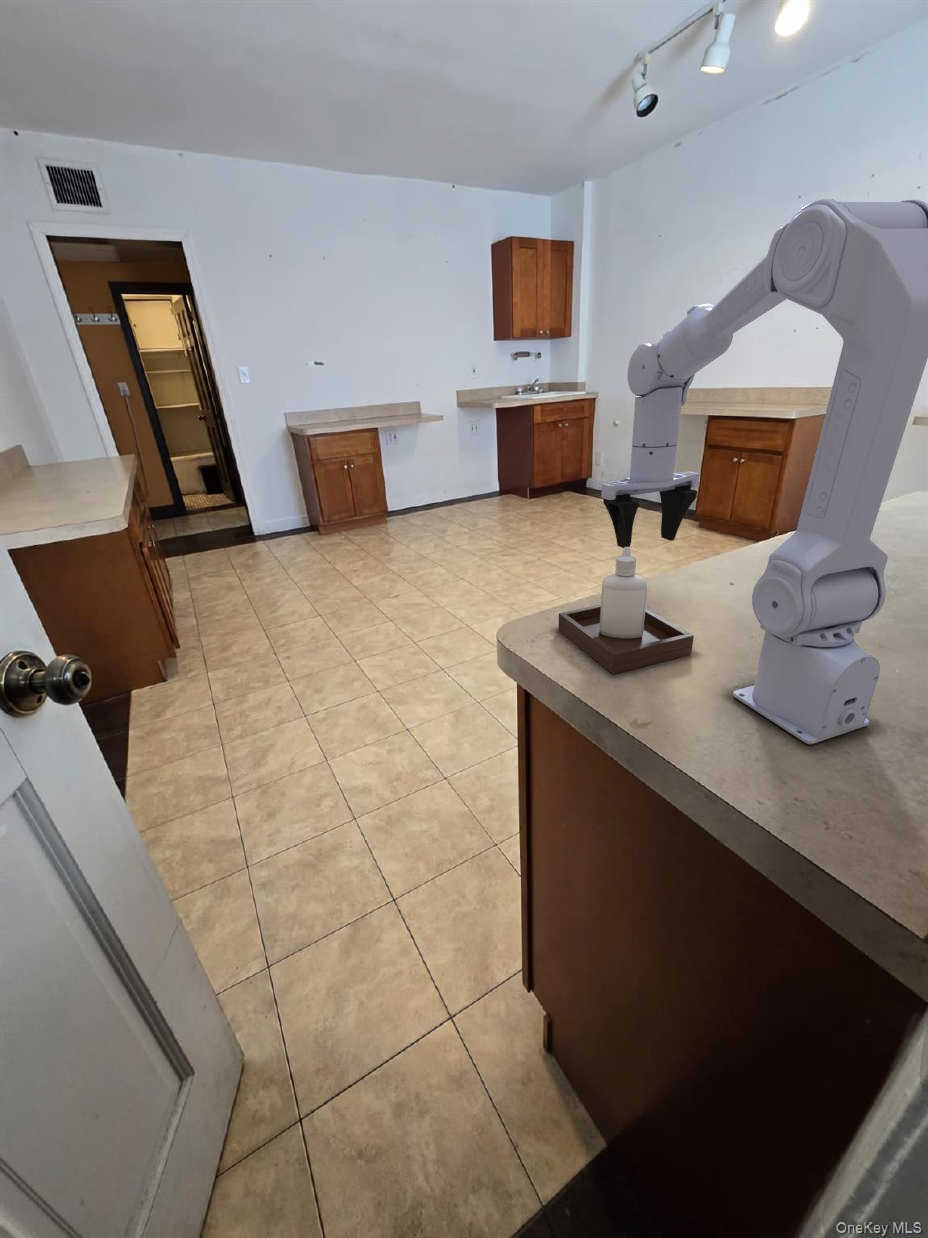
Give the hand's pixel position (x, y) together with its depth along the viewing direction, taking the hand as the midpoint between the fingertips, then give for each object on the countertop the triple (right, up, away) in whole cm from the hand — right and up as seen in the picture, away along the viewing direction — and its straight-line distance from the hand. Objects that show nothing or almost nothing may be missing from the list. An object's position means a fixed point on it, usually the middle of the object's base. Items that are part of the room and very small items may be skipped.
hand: (645, 542), depth 74 cm
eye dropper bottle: (-5, -13, -5) cm, 15 cm away
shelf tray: (-5, -14, -5) cm, 16 cm away
